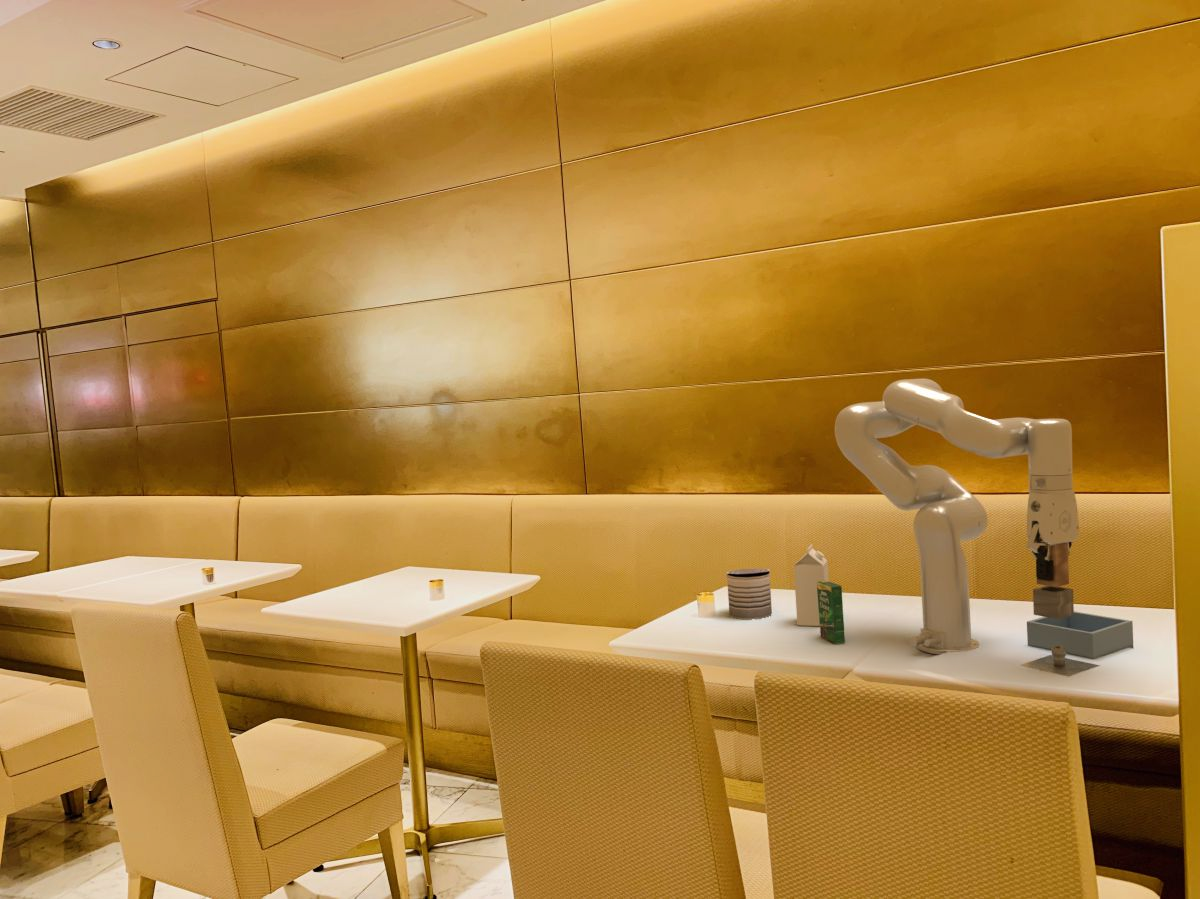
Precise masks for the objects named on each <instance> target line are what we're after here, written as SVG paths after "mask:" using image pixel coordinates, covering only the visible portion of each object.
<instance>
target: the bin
mask: <svg viewBox="0 0 1200 899" xmlns="http://www.w3.org/2000/svg"><path fill="white" fill-rule="evenodd" d="M1133 627H1134V626H1133V620H1128V619H1122V618H1116V617H1111V616H1103V615H1099V614H1098V615H1097V614H1092V613H1085V612H1080V611H1075V610H1074V615H1071V616H1068V617H1065V618H1061V619H1054V618H1049V617H1043V616H1040V617H1038V618H1034V619H1032V620H1028V621H1026V634H1027V646H1029V647H1032V648H1039V649H1043V650H1046V651H1051V650H1052V648H1053V647H1054V646H1055V645H1061V646H1063V647H1064V648H1065V649H1066V655H1071V656H1076V657H1081V658H1086V659H1091V660H1096V659H1098V658H1102V657H1104V656H1107V655H1110V654H1113V653H1116V652H1118V651H1122V650H1124V649H1127V648H1129V649H1134V632H1133V631H1134V628H1133Z"/></svg>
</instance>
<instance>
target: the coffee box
mask: <svg viewBox="0 0 1200 899" xmlns="http://www.w3.org/2000/svg"><path fill="white" fill-rule="evenodd" d="M817 595H818V608H819V621H820V626H819V630H820V631H819V632H820V637H822V638H823V639H825V640H827V641H829V642H831V643H832V644H834V645H840V644H844V643H846V639H845V638H846V636H845V622H844V621H845V620H844V608H843V607H844V606H843V593H842V585H841V584H837V583H834V582H831V581H818V582H817Z"/></svg>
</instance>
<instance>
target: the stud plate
mask: <svg viewBox="0 0 1200 899" xmlns="http://www.w3.org/2000/svg"><path fill="white" fill-rule="evenodd" d="M1050 652H1051V654H1050V655H1046V656H1042V657H1039V658H1036V659H1033V660H1030V661H1027V662H1025V663H1021V664H1020V666H1021V667H1025V668H1030V669H1033V670H1038V671H1042V672H1043V671H1044V672H1048V673H1052V674H1055V675H1059V676H1064V677H1069V678H1070V677H1072V676H1075V675H1078V674H1081V673H1084V672H1086V671H1089V670H1091V669H1095V668H1096V667H1097V668H1098V667H1100V666H1101V665H1100V664H1095V663H1090V662H1086V661H1082V660H1075V659H1071V658H1067V657H1066V656H1067V654H1066V649H1065V648H1064V647H1063V646H1061V645H1055V646H1054V647H1053V648H1052V650H1050Z"/></svg>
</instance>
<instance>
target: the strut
mask: <svg viewBox="0 0 1200 899" xmlns="http://www.w3.org/2000/svg"><path fill="white" fill-rule="evenodd" d="M1041 543H1047V542H1043V541H1041ZM1041 547H1042V548H1043V549H1044V550H1045V548H1046V547H1045V546H1041ZM1050 560H1053V576H1054V579H1053V581H1046V580H1040V579H1037V578H1036V584H1037V585H1040V587H1037V588H1032V598H1033V600H1032V601H1033V602H1032V603H1033V615H1035V616H1039V617H1049V618H1054V619H1061V618H1065V617H1068V616H1071V615H1074V611H1075V609H1074V608H1075V606H1074V604H1075V603H1074V588H1069V587H1064V586H1066V585H1069V584H1070V574H1069V573H1070V572H1069V569H1070V568H1069V556H1068V543H1067V542H1066V543H1062V544H1057V545H1052V552H1051V559H1050Z"/></svg>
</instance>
